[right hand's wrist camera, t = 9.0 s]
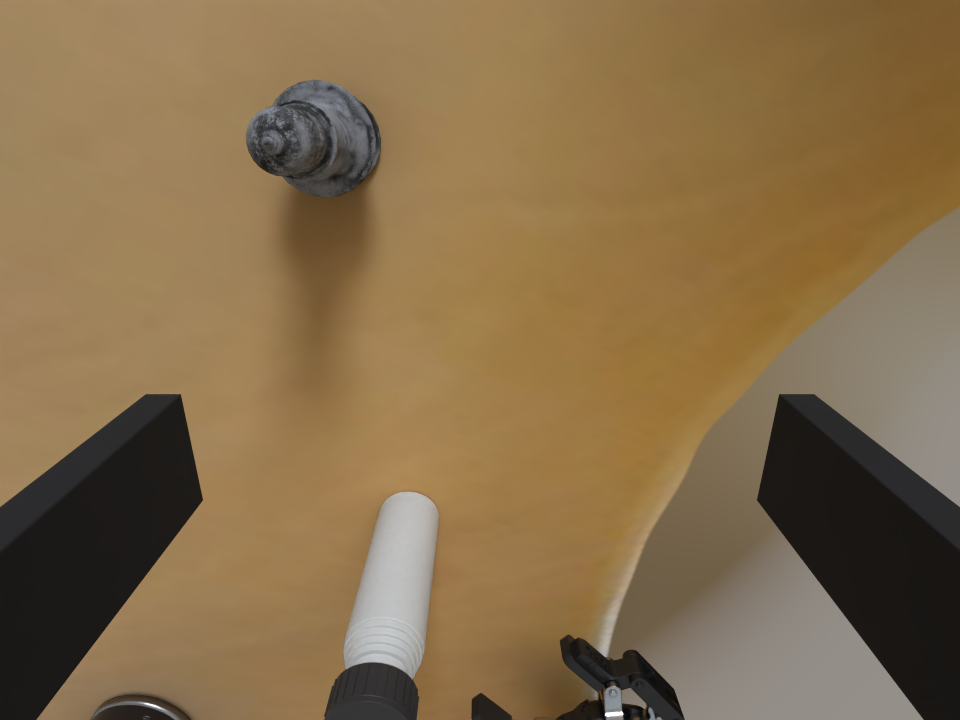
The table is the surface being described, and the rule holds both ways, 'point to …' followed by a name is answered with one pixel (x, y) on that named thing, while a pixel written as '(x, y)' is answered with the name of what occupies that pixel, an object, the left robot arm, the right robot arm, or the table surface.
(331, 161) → the grey tall turned piece
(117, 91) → the table surface
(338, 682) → the cap
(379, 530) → the bottle
